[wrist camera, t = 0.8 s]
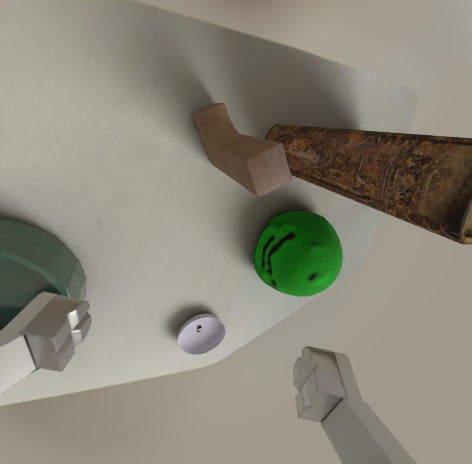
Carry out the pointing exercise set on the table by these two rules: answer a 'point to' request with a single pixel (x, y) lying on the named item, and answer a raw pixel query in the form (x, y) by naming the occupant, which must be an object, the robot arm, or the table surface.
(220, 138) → the wooden block
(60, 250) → the bowl
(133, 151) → the table surface
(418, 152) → the book
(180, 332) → the white shallow round dish
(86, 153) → the table surface
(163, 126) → the table surface
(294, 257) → the toy
